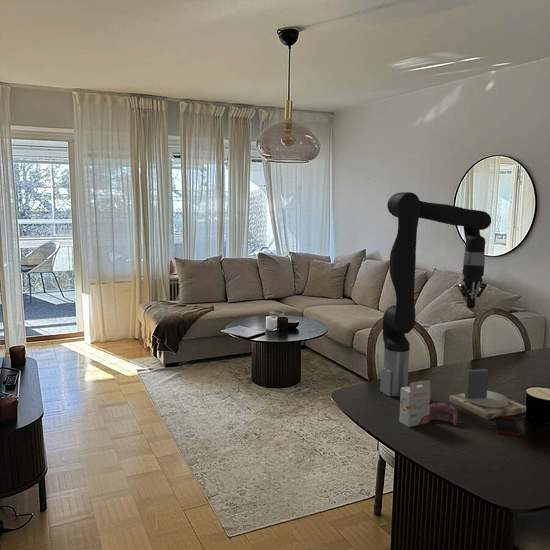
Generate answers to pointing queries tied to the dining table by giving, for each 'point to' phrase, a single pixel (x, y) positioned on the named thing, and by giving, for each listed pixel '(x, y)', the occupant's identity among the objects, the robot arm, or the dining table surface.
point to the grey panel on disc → (482, 390)
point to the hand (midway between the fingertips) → (470, 308)
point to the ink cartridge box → (415, 404)
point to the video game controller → (446, 408)
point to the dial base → (487, 411)
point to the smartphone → (507, 426)
